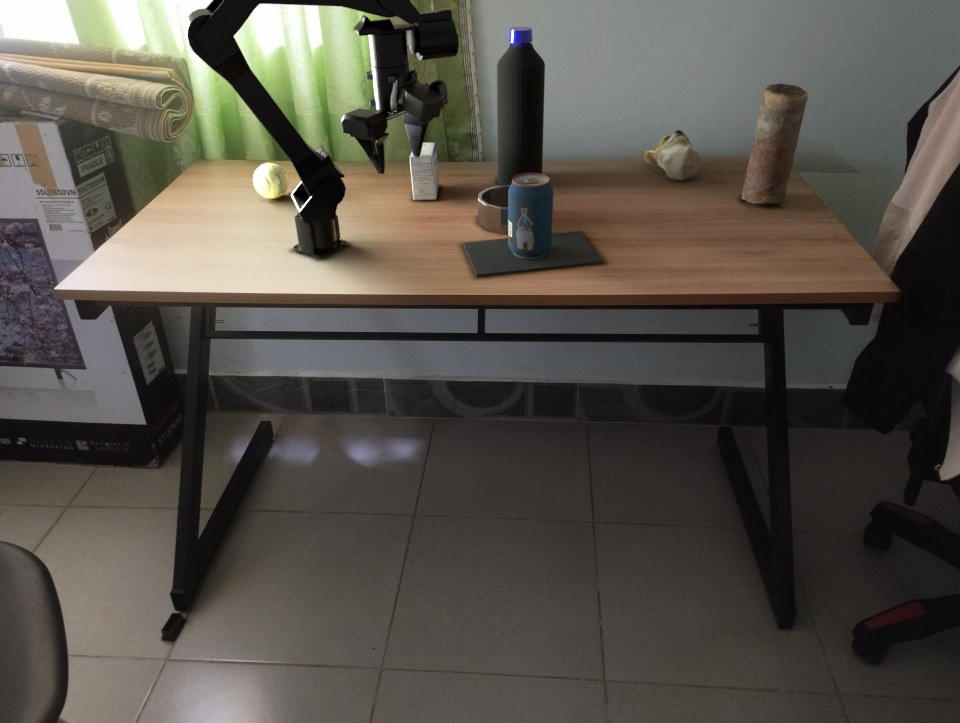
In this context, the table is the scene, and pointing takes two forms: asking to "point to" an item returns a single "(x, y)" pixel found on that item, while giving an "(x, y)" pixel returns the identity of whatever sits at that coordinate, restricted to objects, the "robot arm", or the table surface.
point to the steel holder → (494, 208)
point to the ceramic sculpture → (675, 156)
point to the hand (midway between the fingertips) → (399, 164)
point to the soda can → (530, 215)
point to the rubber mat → (501, 260)
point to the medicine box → (425, 173)
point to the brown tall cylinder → (774, 144)
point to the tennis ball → (271, 180)
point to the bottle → (520, 107)
